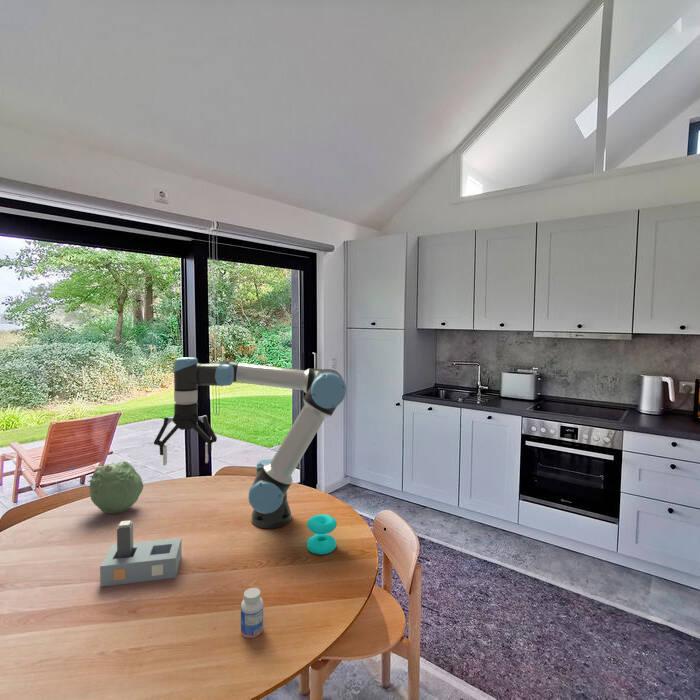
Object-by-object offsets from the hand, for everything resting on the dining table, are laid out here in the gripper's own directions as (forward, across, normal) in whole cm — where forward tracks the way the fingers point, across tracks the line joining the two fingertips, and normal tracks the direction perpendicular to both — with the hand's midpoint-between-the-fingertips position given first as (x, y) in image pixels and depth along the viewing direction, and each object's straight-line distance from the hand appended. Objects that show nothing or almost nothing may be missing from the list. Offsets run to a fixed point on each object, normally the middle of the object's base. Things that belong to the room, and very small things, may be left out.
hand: (186, 463), depth 146 cm
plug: (+25, +15, +18) cm, 34 cm away
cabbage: (+27, +29, -27) cm, 48 cm away
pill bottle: (+27, -21, +51) cm, 61 cm away
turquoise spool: (+27, -45, +17) cm, 55 cm away
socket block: (+27, +10, +18) cm, 34 cm away
